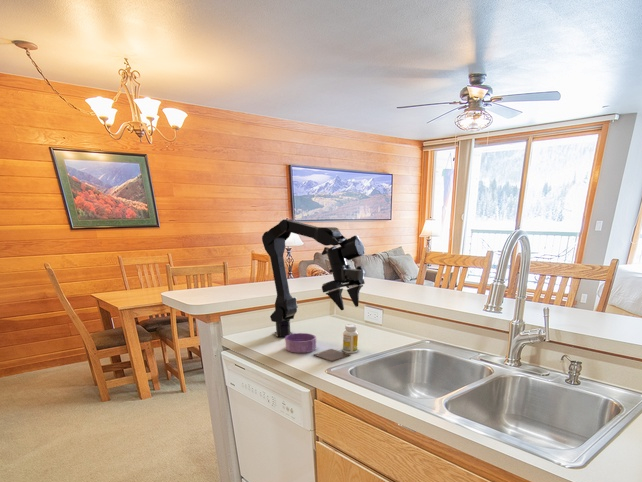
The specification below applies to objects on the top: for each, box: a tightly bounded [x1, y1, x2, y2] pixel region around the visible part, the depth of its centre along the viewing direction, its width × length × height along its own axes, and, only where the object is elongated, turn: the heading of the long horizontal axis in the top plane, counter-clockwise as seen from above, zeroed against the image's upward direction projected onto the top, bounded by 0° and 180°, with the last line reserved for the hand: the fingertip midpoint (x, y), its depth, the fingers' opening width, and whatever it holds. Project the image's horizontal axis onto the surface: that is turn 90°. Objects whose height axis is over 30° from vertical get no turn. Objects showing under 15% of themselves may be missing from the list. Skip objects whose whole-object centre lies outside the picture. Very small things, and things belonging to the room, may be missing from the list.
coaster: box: [313, 349, 350, 362], centre depth 146 cm, size 9×9×1 cm
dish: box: [284, 332, 317, 354], centre depth 151 cm, size 11×11×4 cm
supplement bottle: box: [342, 323, 359, 354], centre depth 149 cm, size 5×5×10 cm
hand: (350, 308), depth 147 cm, fingers open, 9 cm apart
